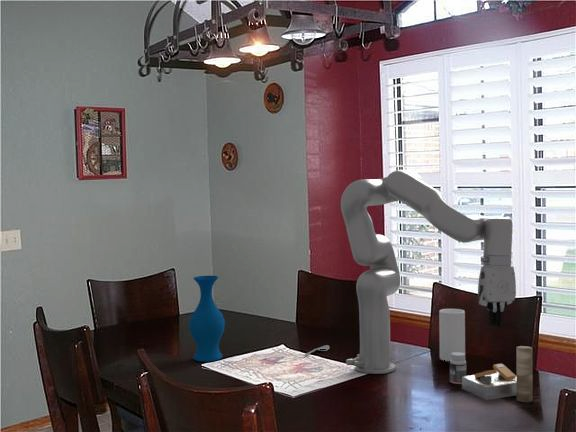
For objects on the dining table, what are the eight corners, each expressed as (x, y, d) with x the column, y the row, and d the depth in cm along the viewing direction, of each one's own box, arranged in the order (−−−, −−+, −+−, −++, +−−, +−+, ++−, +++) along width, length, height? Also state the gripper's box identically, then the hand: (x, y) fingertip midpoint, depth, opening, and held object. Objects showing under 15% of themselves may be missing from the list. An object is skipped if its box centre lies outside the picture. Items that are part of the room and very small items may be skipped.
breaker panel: (487, 400, 177) (487, 383, 177) (462, 388, 187) (461, 373, 187) (528, 393, 182) (528, 377, 182) (502, 382, 193) (502, 367, 192)
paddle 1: (487, 374, 181) (486, 370, 181) (475, 378, 186) (474, 374, 186) (496, 373, 182) (495, 369, 182) (484, 376, 187) (483, 372, 187)
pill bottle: (447, 379, 196) (447, 351, 196) (463, 379, 197) (462, 351, 196) (453, 384, 192) (452, 356, 191) (468, 383, 192) (468, 355, 192)
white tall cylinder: (465, 362, 215) (465, 313, 215) (440, 361, 217) (439, 312, 216) (464, 355, 223) (464, 308, 223) (439, 355, 225) (438, 308, 224)
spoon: (333, 350, 236) (332, 345, 236) (296, 362, 221) (296, 357, 220) (323, 348, 239) (323, 344, 239) (287, 361, 223) (287, 356, 223)
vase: (232, 355, 230) (230, 275, 229) (213, 365, 218) (211, 280, 217) (202, 352, 235) (200, 274, 234) (182, 361, 223) (180, 279, 222)
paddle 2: (506, 379, 183) (507, 376, 182) (492, 367, 188) (493, 364, 187) (515, 378, 184) (515, 375, 183) (501, 366, 189) (502, 363, 188)
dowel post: (523, 403, 174) (523, 350, 174) (513, 398, 178) (513, 347, 177) (535, 401, 176) (535, 348, 175) (525, 396, 179) (525, 345, 179)
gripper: (483, 263, 180) (481, 330, 182) (527, 261, 186) (525, 326, 187) (466, 260, 187) (464, 324, 189) (509, 258, 193) (507, 320, 194)
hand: (494, 324), depth 188 cm, fingers closed
